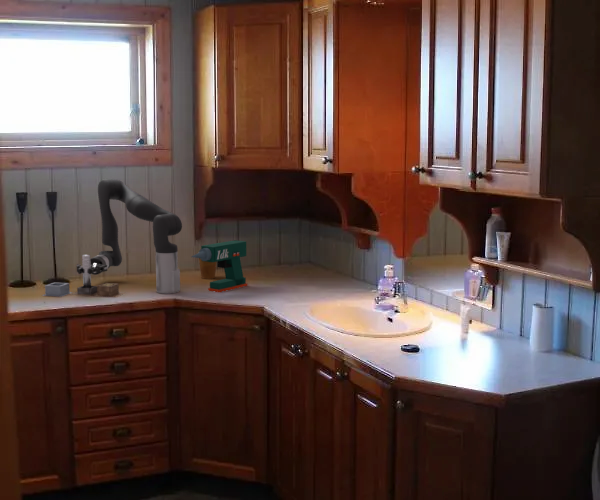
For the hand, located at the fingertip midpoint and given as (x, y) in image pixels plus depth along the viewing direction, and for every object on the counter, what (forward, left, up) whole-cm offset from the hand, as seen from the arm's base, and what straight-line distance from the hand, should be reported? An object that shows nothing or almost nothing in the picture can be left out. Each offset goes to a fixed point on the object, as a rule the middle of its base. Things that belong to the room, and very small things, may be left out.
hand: (84, 271), depth 336 cm
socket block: (-5, -3, -11) cm, 12 cm away
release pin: (-9, -3, -8) cm, 13 cm away
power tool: (-49, -27, -11) cm, 56 cm away
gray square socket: (+11, +2, -11) cm, 16 cm away
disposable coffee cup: (-34, -54, -11) cm, 64 cm away
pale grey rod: (0, -3, -10) cm, 10 cm away
